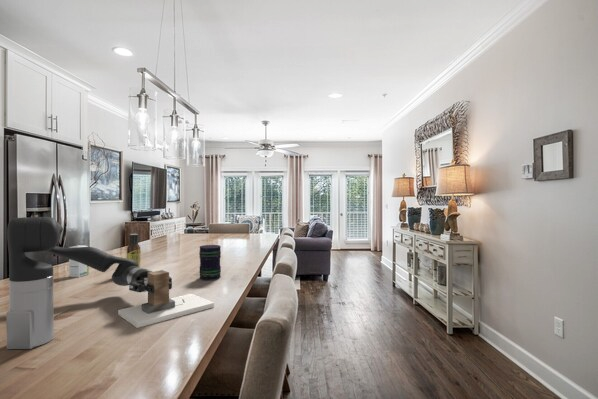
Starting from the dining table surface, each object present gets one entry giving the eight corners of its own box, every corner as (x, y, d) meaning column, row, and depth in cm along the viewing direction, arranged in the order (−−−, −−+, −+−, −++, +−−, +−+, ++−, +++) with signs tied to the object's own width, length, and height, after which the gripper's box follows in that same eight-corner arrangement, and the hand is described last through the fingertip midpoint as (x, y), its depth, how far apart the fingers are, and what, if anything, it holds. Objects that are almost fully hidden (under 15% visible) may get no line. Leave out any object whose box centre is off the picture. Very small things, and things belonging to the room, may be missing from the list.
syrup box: (79, 277, 161) (78, 247, 161) (68, 276, 162) (68, 246, 162) (88, 274, 166) (88, 245, 166) (78, 274, 168) (78, 244, 168)
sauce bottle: (131, 276, 163) (131, 235, 163) (123, 274, 166) (123, 234, 166) (143, 273, 169) (143, 233, 169) (135, 272, 172) (135, 233, 172)
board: (137, 327, 99) (137, 322, 99) (118, 314, 111) (118, 310, 111) (214, 307, 118) (214, 302, 118) (191, 297, 129) (191, 293, 129)
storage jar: (212, 274, 167) (212, 244, 167) (225, 277, 161) (225, 246, 161) (195, 278, 160) (195, 246, 159) (207, 281, 153) (207, 248, 153)
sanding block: (147, 313, 107) (147, 276, 107) (141, 310, 110) (141, 273, 110) (175, 307, 113) (174, 271, 113) (168, 303, 117) (168, 269, 117)
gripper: (120, 272, 117) (139, 280, 105) (161, 265, 127) (182, 272, 115) (120, 293, 117) (139, 304, 105) (161, 285, 127) (182, 294, 115)
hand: (162, 287), depth 110 cm, fingers closed on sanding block, 5 cm apart
